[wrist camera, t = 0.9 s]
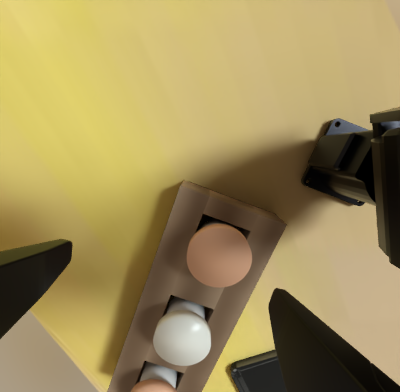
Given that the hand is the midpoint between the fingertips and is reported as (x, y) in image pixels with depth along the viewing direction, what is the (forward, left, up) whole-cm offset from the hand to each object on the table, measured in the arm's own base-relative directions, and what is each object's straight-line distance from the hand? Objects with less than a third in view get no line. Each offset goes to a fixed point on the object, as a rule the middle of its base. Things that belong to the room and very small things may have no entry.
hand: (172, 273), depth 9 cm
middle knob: (-3, +11, -10) cm, 16 cm away
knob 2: (-3, +2, -11) cm, 11 cm away
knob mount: (-3, +11, -12) cm, 17 cm away
